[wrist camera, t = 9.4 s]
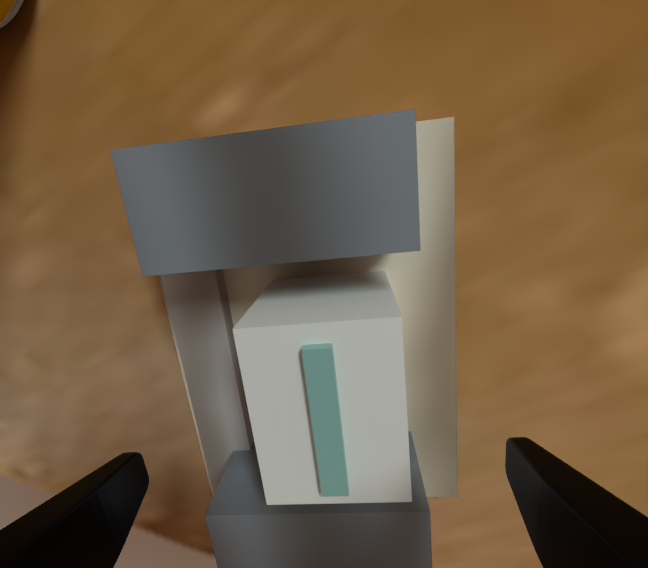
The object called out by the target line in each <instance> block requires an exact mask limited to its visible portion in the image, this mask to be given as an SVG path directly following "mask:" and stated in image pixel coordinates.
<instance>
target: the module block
mask: <svg viewBox="0 0 648 568" xmlns="http://www.w3.org/2000/svg"><path fill="white" fill-rule="evenodd" d="M232 330H233V335H234V340H235V345H236V351H237V356H238V361H239V366H240V371H241V376H242V381H243V386H244V391H245V396H246V402H247V407H248V412H249V417H250V422H251V427H252V432H253V437H254V442H255V447H256V452H257V458H258V463H259V468H260V473H261V478H262V483H263V488H264V493H265V498H266V503H267V505H286V504H335V503H385V502H412V492H411V473H410V455H409V437H408V418H407V400H406V382H405V364H404V345H403V327H402V315H401V313H400V310H399V307H398V305H397V302H396V299H395V297H394V294H393V291H392V289H391V286H390V283H389V281H388V278H387V275H386V273H385V270H378V271H367V272H356V273H345V274H333V275H322V276H311V277H300V278H288V279H277V280H272V281H271V283H270V284H269V285H268V286H267V287H266V289H265V290H264V291H263V292H262V294H261V295H260V296H259V297H258V298H257V300H256V301H255V302H254V303H253V305H252V306H251V307H250V308H249V309H248V311H247V312H246V313H245V314H244V316H243V317H242V318H241V319H240V320H239V322H238V323H237V324H236V325H235V327H234V328H233V329H232Z"/></svg>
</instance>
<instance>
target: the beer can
mask: <svg viewBox="0 0 648 568" xmlns="http://www.w3.org/2000/svg"><path fill="white" fill-rule="evenodd" d="M23 1H24V0H0V28H2V27H3V26H5V25H6V24H7V23H9V22H10V21H11V20H12V19H13V18H14V17H15V15H16V14H17V12H18V11H19V9H20V7H21V6H22V4H23Z"/></svg>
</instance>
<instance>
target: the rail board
mask: <svg viewBox="0 0 648 568" xmlns="http://www.w3.org/2000/svg"><path fill="white" fill-rule="evenodd" d="M110 152H111V156H112V160H113V163H114V167H115V171H116V175H117V179H118V183H119V187H120V191H121V194H122V198H123V202H124V206H125V210H126V214H127V218H128V221H129V225H130V229H131V233H132V237H133V241H134V245H135V249H136V252H137V256H138V260H139V264H140V268H141V272H142V276H154V275H158V278H159V282H160V286H161V290H162V294H163V298H164V302H165V306H166V310H167V314H168V318H169V323H170V327H171V331H172V335H173V339H174V343H175V347H176V351H177V355H178V359H179V363H180V367H181V371H182V375H183V379H184V383H185V388H186V392H187V396H188V400H189V404H190V408H191V412H192V416H193V420H194V424H195V428H196V432H197V436H198V440H199V444H200V448H201V453H202V457H203V461H204V465H205V469H206V473H207V477H208V481H209V485H210V489H211V493H212V500H211V502H210V504H209V506H208V509H207V511H206V513H205V519H206V523H207V527H208V531H209V535H210V539H211V543H212V546H213V550H214V554H215V558H216V562H217V566H218V568H432V551H431V524H430V509H429V505H428V501H427V497H457V391H456V284H455V178H454V117H450V118H442V119H434V120H427V121H419V122H416V112H415V109H413V110H406V111H398V112H391V113H383V114H376V115H368V116H361V117H353V118H346V119H339V120H331V121H324V122H316V123H309V124H301V125H294V126H286V127H279V128H272V129H264V130H257V131H249V132H242V133H234V134H227V135H219V136H212V137H204V138H197V139H190V140H182V141H175V142H167V143H160V144H152V145H145V146H137V147H130V148H123V149H115V150H110ZM378 270H385V273H386V275H387V278H388V281H389V283H390V286H391V289H392V291H393V294H394V297H395V299H396V302H397V305H398V307H399V310H400V313H401V315H402V327H403V345H404V364H405V382H406V400H407V418H408V437H409V455H410V473H411V492H412V502H385V503H335V504H286V505H267V503H266V498H265V493H264V488H263V483H262V478H261V473H260V468H259V463H258V458H257V452H256V447H255V442H254V437H253V432H252V427H251V422H250V417H249V412H248V407H247V402H246V396H245V391H244V386H243V381H242V376H241V371H240V366H239V361H238V356H237V351H236V345H235V340H234V335H233V330H232V329H233V328H234V327H235V325H236V324H237V323H238V322H239V320H240V319H241V318H242V317H243V316H244V314H245V313H246V312H247V311H248V309H249V308H250V307H251V306H252V305H253V303H254V302H255V301H256V300H257V298H258V297H259V296H260V295H261V294H262V292H263V291H264V290H265V289H266V287H267V286H268V285H269V284H270V283H271V281H272V280H277V279H288V278H300V277H311V276H322V275H333V274H345V273H356V272H367V271H378Z"/></svg>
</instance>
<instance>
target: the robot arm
mask: <svg viewBox="0 0 648 568" xmlns="http://www.w3.org/2000/svg"><path fill="white" fill-rule="evenodd" d="M505 468H506V474H507V478H508V481H509V483H510V486H511V488H512V491H513V494H514V496H515V499H516V502H517V504H518V507H519V509H520V512H521V515H522V517H523V520H524V523H525V525H526V528H527V531H528V533H529V536H530V538H531V541H532V543H533V546H534V548H535V551H536V553H537V555H538V557H539V560H540V562H541V564H542V566H543V568H648V517H646V516H645V515H643V514H642V513H640V512H639V511H637V510H636V509H634V508H633V507H631V506H630V505H628V504H627V503H625V502H624V501H622V500H621V499H619V498H618V497H616V496H615V495H613V494H612V493H610V492H609V491H607V490H606V489H604V488H603V487H601V486H600V485H598V484H597V483H595V482H594V481H592V480H591V479H589V478H588V477H586V476H585V475H583V474H582V473H580V472H579V471H577V470H576V469H574V468H573V467H571V466H570V465H568V464H566V463H565V462H563V461H562V460H560V459H559V458H557V457H556V456H554V455H553V454H551V453H550V452H548V451H547V450H545V449H544V448H542V447H541V446H539V445H538V444H536V443H535V442H533V441H532V440H530V439H528V438H526V437H513V438H509V439H507V442H506V463H505ZM148 485H149V476H148V473H147V470H146V466H145V463H144V460H143V457H142V455H141V454H140V453H138V452H126V453H122V454H121V455H119V456H117V457H116V458H114V459H113V460H111V461H109V462H108V463H106V464H105V465H103V466H101V467H100V468H98V469H97V470H95V471H93V472H92V473H90V474H89V475H87V476H86V477H84V478H82V479H81V480H79V481H78V482H76V483H74V484H73V485H71V486H70V487H68V488H66V489H65V490H63V491H62V492H60V493H58V494H57V495H55V496H54V497H52V498H51V499H49V500H47V501H46V502H44V503H43V504H41V505H39V506H38V507H36V508H35V509H33V510H31V511H30V512H28V513H27V514H25V515H24V516H22V517H20V518H19V519H17V520H16V521H14V522H12V523H11V524H9V525H8V526H6V527H5V528H3V529H1V530H0V568H113V567H114V565H115V563H116V561H117V559H118V557H119V555H120V553H121V550H122V548H123V546H124V544H125V541H126V539H127V537H128V534H129V531H130V529H131V527H132V525H133V522H134V520H135V517H136V515H137V513H138V510H139V508H140V505H141V503H142V501H143V498H144V496H145V493H146V491H147V488H148Z"/></svg>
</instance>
